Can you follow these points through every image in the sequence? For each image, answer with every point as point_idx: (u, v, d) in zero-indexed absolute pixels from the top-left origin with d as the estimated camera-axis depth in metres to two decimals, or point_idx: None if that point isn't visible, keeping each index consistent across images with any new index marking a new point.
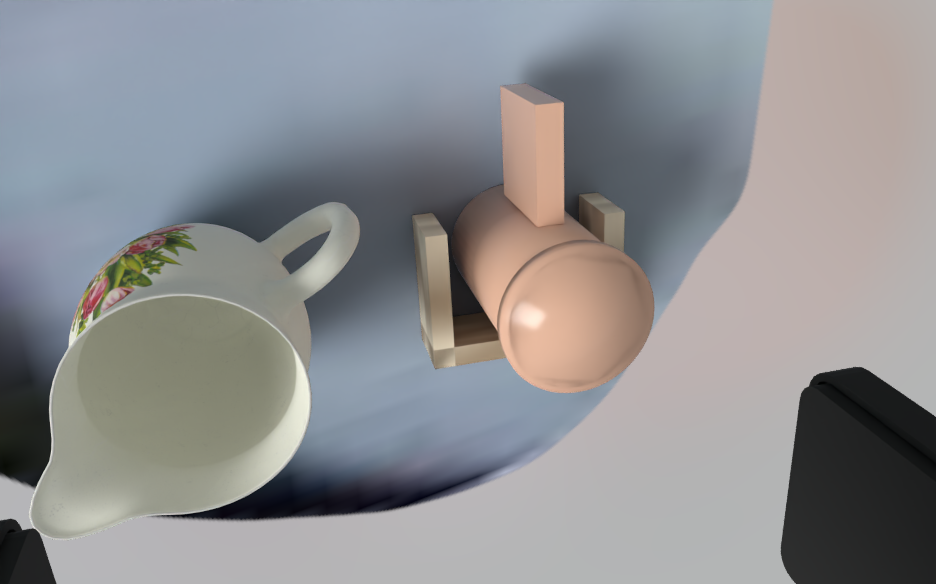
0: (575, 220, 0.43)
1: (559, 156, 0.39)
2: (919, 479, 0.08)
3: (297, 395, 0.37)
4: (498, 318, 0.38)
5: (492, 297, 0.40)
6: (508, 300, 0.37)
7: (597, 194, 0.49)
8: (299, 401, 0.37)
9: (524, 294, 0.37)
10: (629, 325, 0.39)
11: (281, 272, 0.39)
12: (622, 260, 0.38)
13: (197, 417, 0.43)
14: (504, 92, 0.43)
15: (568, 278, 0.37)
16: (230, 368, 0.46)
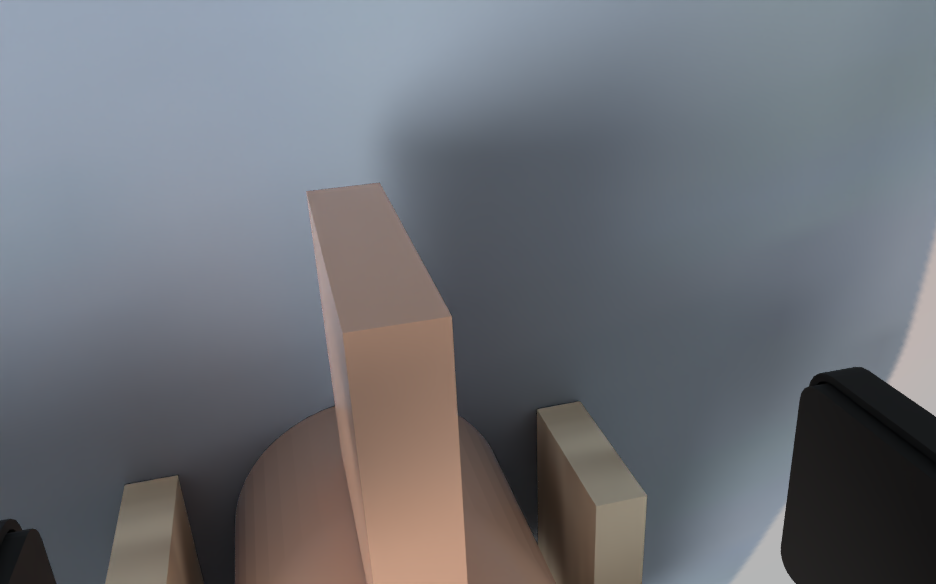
0: (515, 569, 0.16)
1: (446, 483, 0.11)
2: (919, 479, 0.08)
3: None
4: None
5: None
6: None
7: (579, 409, 0.21)
8: None
9: None
10: None
11: None
12: None
13: None
14: (311, 215, 0.15)
15: None
16: None
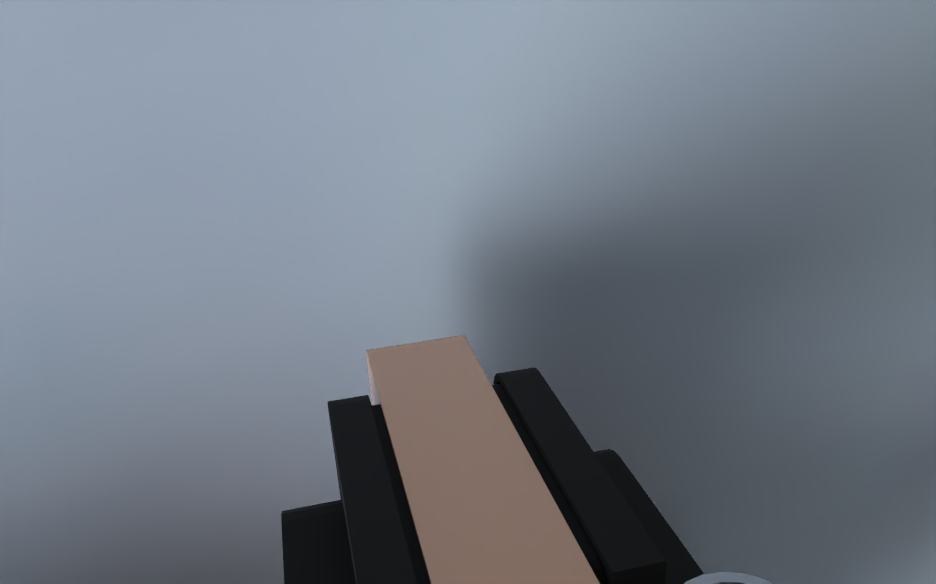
0: None
1: None
2: None
3: None
4: None
5: None
6: None
7: None
8: None
9: None
10: None
11: None
12: None
13: None
14: (375, 391, 0.11)
15: None
16: None
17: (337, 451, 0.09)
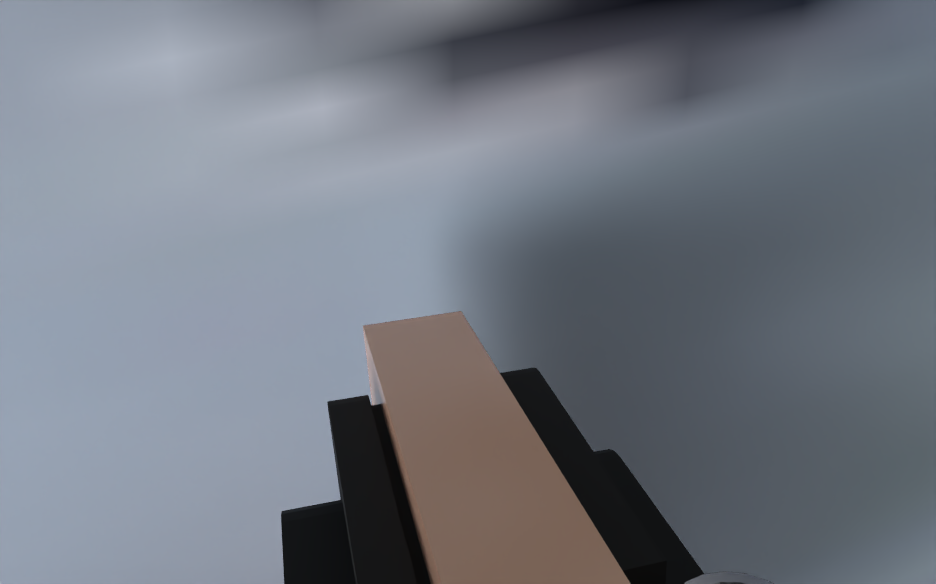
0: None
1: None
2: None
3: None
4: None
5: None
6: None
7: None
8: None
9: None
10: None
11: None
12: None
13: None
14: (371, 364, 0.11)
15: None
16: None
17: (337, 451, 0.09)
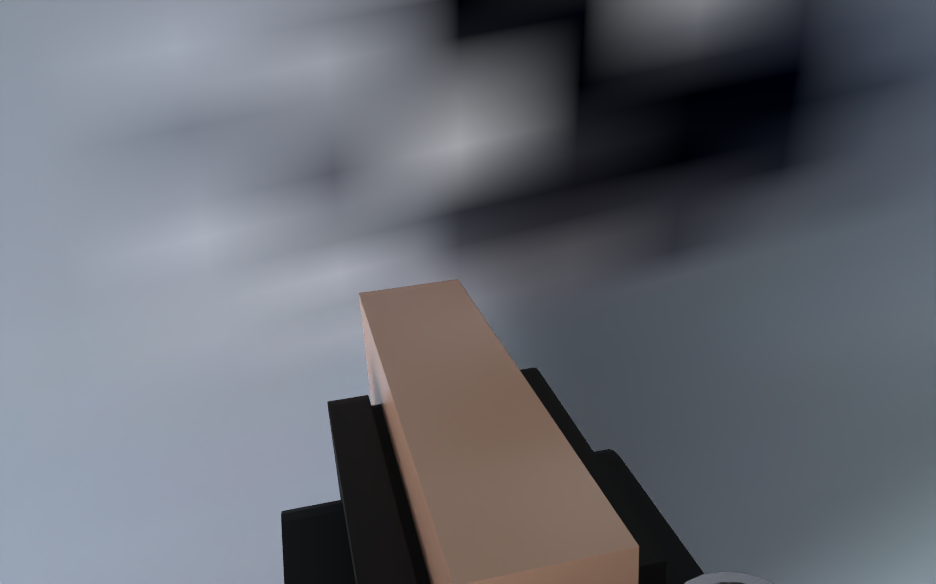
0: None
1: None
2: None
3: None
4: None
5: None
6: None
7: None
8: None
9: None
10: None
11: None
12: None
13: None
14: (367, 330, 0.11)
15: None
16: None
17: (337, 451, 0.09)
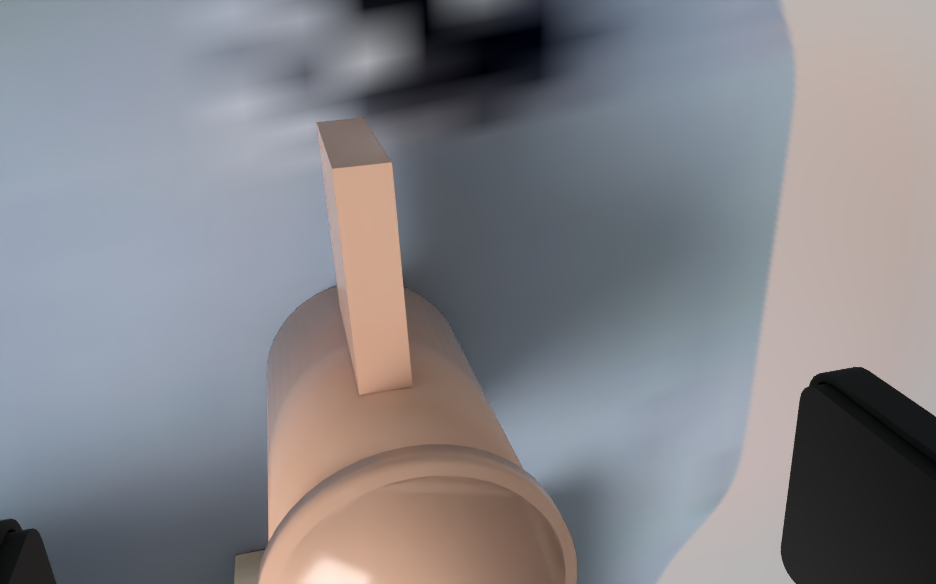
0: (449, 364, 0.24)
1: (392, 266, 0.20)
2: (919, 479, 0.08)
3: None
4: None
5: (268, 535, 0.21)
6: (264, 577, 0.18)
7: None
8: None
9: (298, 564, 0.18)
10: None
11: None
12: (505, 487, 0.18)
13: None
14: (319, 135, 0.24)
15: (391, 528, 0.18)
16: None
17: None
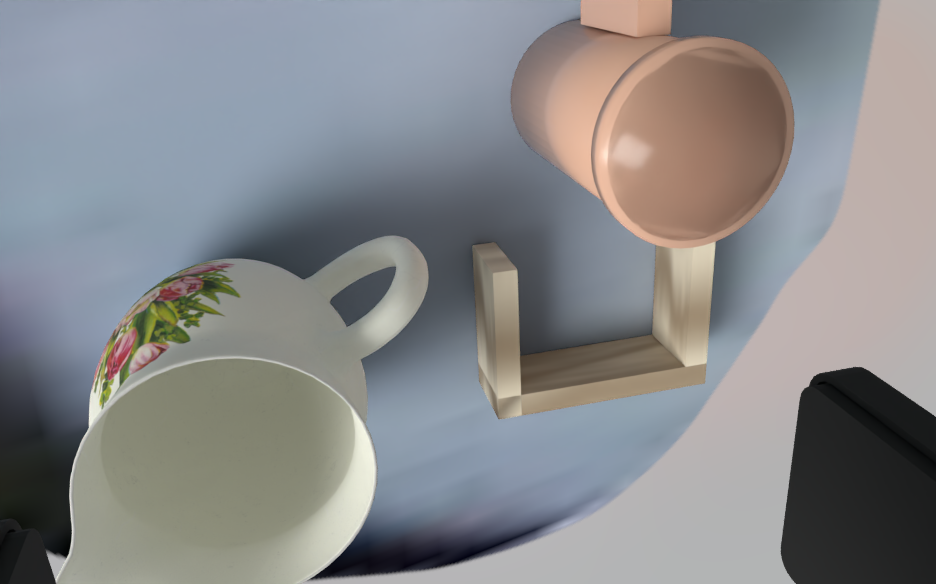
0: None
1: None
2: (919, 479, 0.08)
3: (356, 465, 0.32)
4: (594, 141, 0.29)
5: (580, 125, 0.31)
6: (611, 111, 0.28)
7: None
8: (359, 473, 0.31)
9: (631, 104, 0.28)
10: (761, 157, 0.30)
11: (334, 318, 0.34)
12: (758, 63, 0.29)
13: (232, 478, 0.38)
14: None
15: (688, 84, 0.28)
16: (267, 418, 0.41)
17: None
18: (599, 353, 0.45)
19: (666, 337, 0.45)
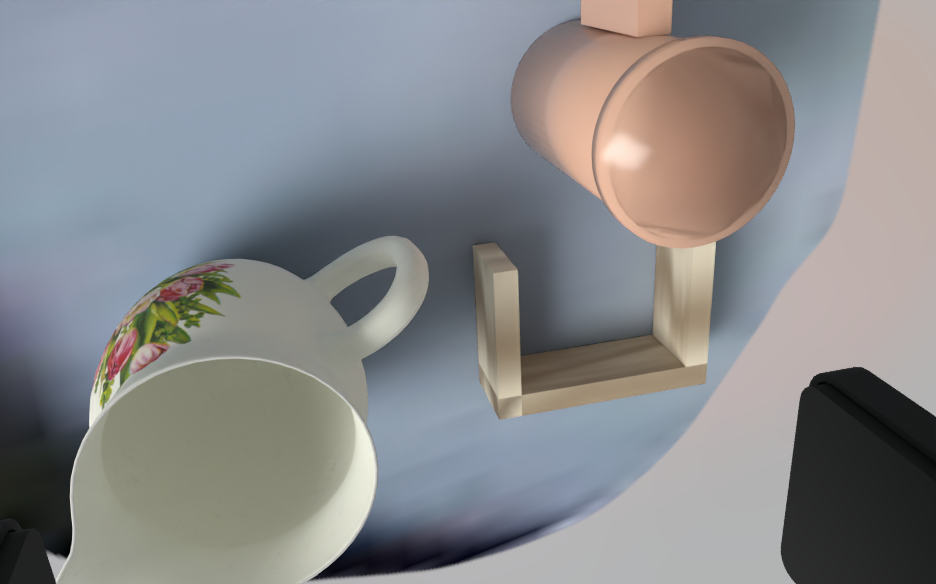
0: None
1: None
2: (919, 479, 0.08)
3: (357, 465, 0.32)
4: (594, 141, 0.29)
5: (581, 125, 0.31)
6: (611, 111, 0.28)
7: None
8: (360, 473, 0.31)
9: (632, 104, 0.28)
10: (761, 157, 0.30)
11: (335, 318, 0.34)
12: (759, 62, 0.29)
13: (233, 479, 0.38)
14: None
15: (689, 84, 0.28)
16: (268, 419, 0.41)
17: None
18: (600, 353, 0.45)
19: (666, 337, 0.45)
